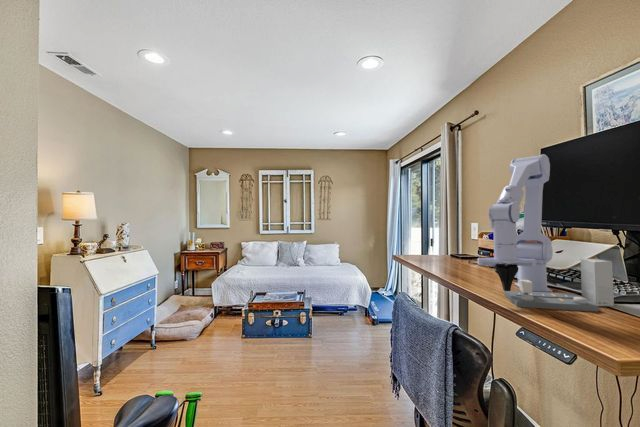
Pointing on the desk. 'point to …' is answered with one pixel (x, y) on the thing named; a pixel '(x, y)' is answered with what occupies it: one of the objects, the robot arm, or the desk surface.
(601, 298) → the skincare box
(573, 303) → the console
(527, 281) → the fader tab
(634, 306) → the desk surface
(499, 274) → the robot arm
